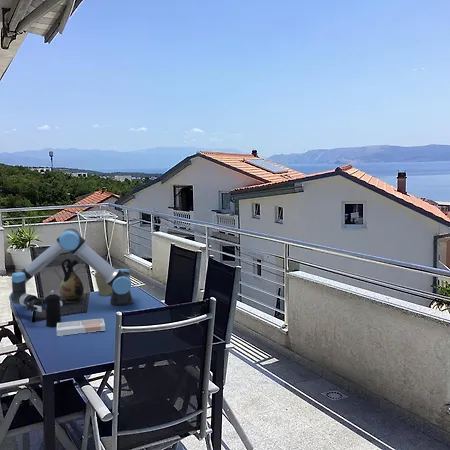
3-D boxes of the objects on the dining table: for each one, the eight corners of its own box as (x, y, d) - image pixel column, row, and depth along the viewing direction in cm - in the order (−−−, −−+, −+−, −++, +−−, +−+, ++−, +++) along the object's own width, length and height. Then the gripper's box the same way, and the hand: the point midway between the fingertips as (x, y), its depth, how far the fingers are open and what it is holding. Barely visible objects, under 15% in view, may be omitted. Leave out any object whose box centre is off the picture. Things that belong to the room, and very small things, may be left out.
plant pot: (97, 298, 316) (97, 275, 314) (93, 293, 329) (92, 271, 327) (119, 295, 323) (118, 273, 321) (113, 291, 336) (113, 269, 334)
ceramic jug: (74, 297, 319) (73, 255, 316) (88, 300, 310) (87, 257, 307) (53, 302, 305) (51, 258, 302) (67, 306, 296) (65, 261, 293)
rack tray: (103, 324, 262) (103, 318, 261) (105, 331, 249) (105, 325, 249) (57, 329, 253) (57, 322, 253) (56, 337, 241) (56, 330, 241)
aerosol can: (64, 323, 263) (63, 289, 261) (54, 328, 255) (53, 293, 253) (52, 321, 265) (51, 288, 263) (42, 326, 258) (41, 292, 256)
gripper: (47, 302, 281) (70, 307, 270) (9, 312, 260) (32, 318, 249) (47, 290, 280) (69, 295, 269) (9, 299, 260) (31, 305, 248)
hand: (51, 306), depth 259 cm, fingers open, 13 cm apart
